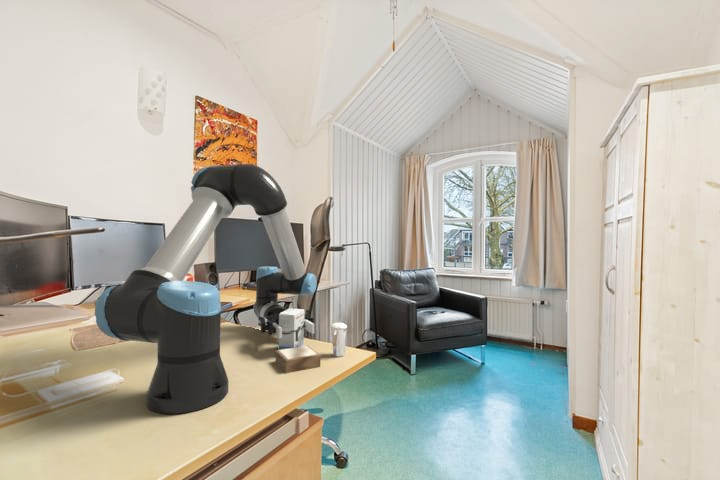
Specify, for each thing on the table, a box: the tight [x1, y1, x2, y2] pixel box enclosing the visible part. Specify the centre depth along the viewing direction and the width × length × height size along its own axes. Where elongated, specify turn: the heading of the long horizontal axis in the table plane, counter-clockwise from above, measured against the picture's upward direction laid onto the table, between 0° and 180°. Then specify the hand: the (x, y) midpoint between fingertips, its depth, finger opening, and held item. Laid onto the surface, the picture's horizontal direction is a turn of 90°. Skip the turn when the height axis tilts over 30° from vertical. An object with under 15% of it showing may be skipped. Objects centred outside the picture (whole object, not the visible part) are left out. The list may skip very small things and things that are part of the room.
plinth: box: [275, 345, 321, 374], centre depth 91 cm, size 9×9×3 cm
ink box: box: [278, 307, 305, 350], centre depth 101 cm, size 8×5×12 cm, turn 169°
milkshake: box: [330, 319, 351, 358], centre depth 98 cm, size 5×5×10 cm
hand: (297, 331), depth 97 cm, fingers closed on ink box, 9 cm apart
